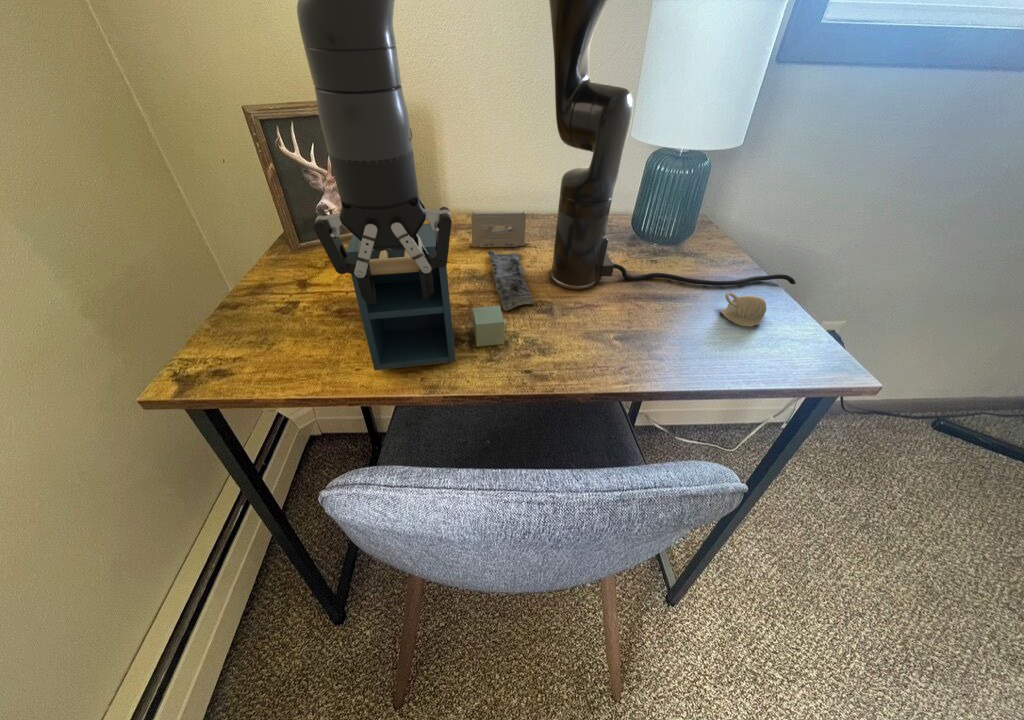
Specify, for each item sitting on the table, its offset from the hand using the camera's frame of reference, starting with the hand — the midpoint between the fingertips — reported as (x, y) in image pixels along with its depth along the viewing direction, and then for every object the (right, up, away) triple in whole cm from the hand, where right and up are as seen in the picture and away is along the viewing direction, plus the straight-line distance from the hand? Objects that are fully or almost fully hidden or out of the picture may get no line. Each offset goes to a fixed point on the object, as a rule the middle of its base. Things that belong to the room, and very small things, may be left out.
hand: (399, 297), depth 48 cm
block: (+9, -4, +20) cm, 22 cm away
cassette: (+10, +19, +44) cm, 49 cm away
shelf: (-3, +5, +15) cm, 16 cm away
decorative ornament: (+55, 0, +26) cm, 61 cm away
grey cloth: (+13, +9, +33) cm, 37 cm away
